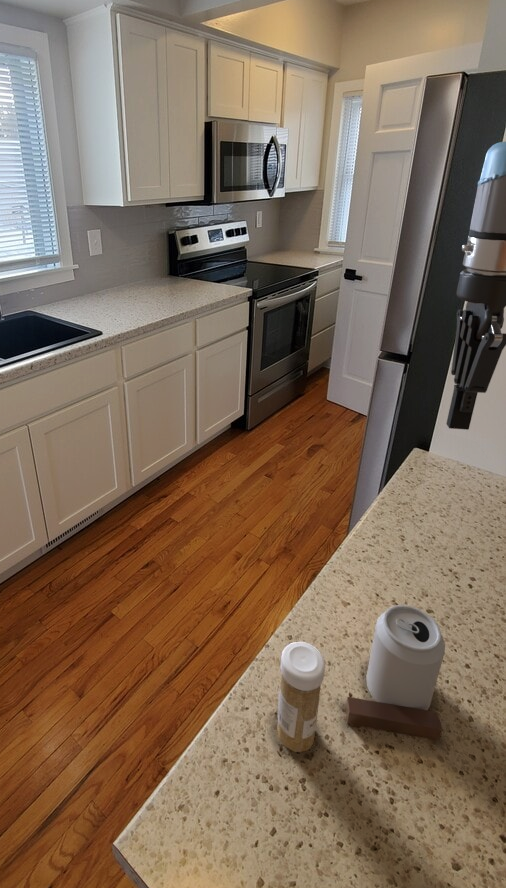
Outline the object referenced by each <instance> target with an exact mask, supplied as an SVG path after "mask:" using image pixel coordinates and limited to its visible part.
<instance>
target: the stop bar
mask: <svg viewBox="0 0 506 888" xmlns="http://www.w3.org/2000/svg"><path fill="white" fill-rule="evenodd" d="M344 708H345V717H346V718H345V719H346V724H347V725H348V726H349V725H351V726H354V727H361V728H367V729H372V730H376V731H377V730H378V731H382V732H388V733H395V734H399V735H406V736H411V737H415V738H416V737H417V738H420V739H421V738H422V739H427V740H433V741H437V742H438V741H440V737H441V735H442V731H443V728H442V724H441V721H440V718H439V717H440V716H439V714H438V711H433V710H429V709H428V710H422V709H416V708H411V707H405V706H399V705H393V704H387V703H382V702H376V700H370V699H363V698H357V697H351V696H346V701H345V707H344Z"/></svg>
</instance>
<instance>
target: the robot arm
mask: <svg viewBox="0 0 506 888" xmlns="http://www.w3.org/2000/svg"><path fill="white" fill-rule="evenodd" d="M461 251H462V252H463V253H464V256H463V261H462V266H464V267H465V269H463V270H462V271H461V272H460V273H459V277H458V283H457V288H456V297H457V298H458V299H460V300H461V301H464V302H466V304H465V305H466V306H465V309H457V312H456V329H455V330H456V331H455V339H454V345H453V346H454V347H453V355H452V363H451V370H450V374H451V376H454V378H453V382H454V385H453V392H452V395H451V396H452V397H451V399H450V405H449V409H448V415H447V418H446V426H447V427H448V429H453V430H454V429H455V430H466V431H467V430H470V427H471V422H472V417H473V415H474V409H475V405H476V402H477V396H478V393H480V394H481V393H482V394H485V393H487V391H488V389H489V386H490V384H491V380H492V378H493V376H494V373H495V370H496V368H497V365H498V363H499V360H500V358H501V356H502V353H503V350H504V349H505V347H506V333H504V332H503V333H502V330H501V329H503V327H504V322H505V317H504V315H505V308H506V141H500V142H497V143H494V144H493V145H491V146H490V147H489V148H488V150H487V152H486V154H485V159H484V162H483V166H482V169H481V174H480V178H479V180H478V181H477V187H476V195H475V199H474V205H473V210H472V216H471V220H470V226H469V231H468V237H467V242H466V244H463V245H462V246H461Z"/></svg>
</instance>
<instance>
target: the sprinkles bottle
mask: <svg viewBox="0 0 506 888" xmlns="http://www.w3.org/2000/svg"><path fill="white" fill-rule="evenodd" d="M280 657H281V658H280V666H279V667H280V673H281V675H280V676H281V677H280V682H279V690H278V691H279V692H278V703H277V705H278V706H277V727H276V731H277V736H278V738H279V741H280V743H282V744H283V746H284V747H285V748H287V749H288V750H290V751H292V752H294V753H303V752H307V751H308V750H310V749H311V747H312V746H313V744H314V741H315V735H316V728H317V723H318V714H319V707H320V706H319V705H320V695H321V694H320V693H321V688H322V687H321V685H322V683H323V681H324V678H325V670H326V662H325V659H324V656H323V654H322V653H321V652H320V651H319V650H318V648H317V647H315V646H314V645H312V644H310V643H308V642H304V641H294V642H291V643H288V644H287V645H286V646H285V647H284V648H283V650H282V652H281V656H280Z"/></svg>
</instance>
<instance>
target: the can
mask: <svg viewBox="0 0 506 888" xmlns="http://www.w3.org/2000/svg"><path fill="white" fill-rule="evenodd" d="M370 649H371V650H370V656H369V660H368V666H367V671H366V675H365V680H366V686H367V689H368V691H369V694H370V696H371V697H372V698H373V700H374V701H376V702H382V703H387V704H393V705H399V706H405V707H411V708H416V709H422V710H428V711H429V708H430V707H431V703H432V700H433V696H434V693H435V689H436V686H437V682H438V678H439V674H440V671H441V667H442V664H443V660H444V657H445V651H446V643H445V640H444V637H443V634H442V631H441V629H440V626H439V624H438V623H437V622H436V620H435V619H434V618H433V617H431V616H430V615H429V613H427V612H425V611H424V610H421V609H420V608H417V607H415V606H412V605H408V604H407V605H405V604H398V605H393V606H390V607H388V608H387V609H386V610H385V612H382V613H381V614H380V616H378V618H377V620H376V623H375V628H374V635H373V640H372V645H371V648H370Z"/></svg>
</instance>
